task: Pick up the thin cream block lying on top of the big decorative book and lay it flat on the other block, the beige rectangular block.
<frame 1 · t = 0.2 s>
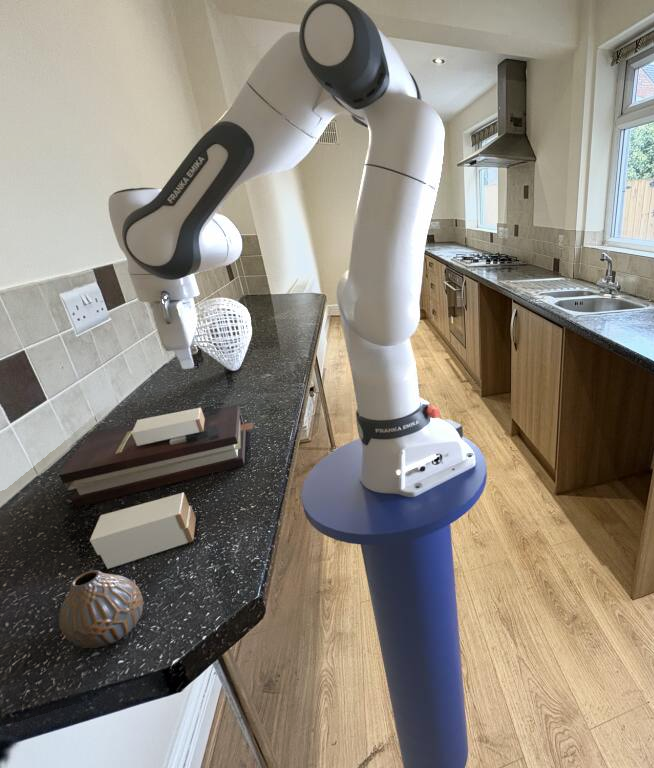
hand: (190, 360, 79), 21 cm above the countertop, tool pointing down, fingers open, 8 cm apart
vase: (115, 631, 50), on the countertop
beige rectangular block: (154, 542, 63), on the countertop
decorative book: (173, 463, 84), on the countertop
cream block: (172, 432, 80), point 8 cm above the countertop
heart: (235, 370, 133), on the countertop
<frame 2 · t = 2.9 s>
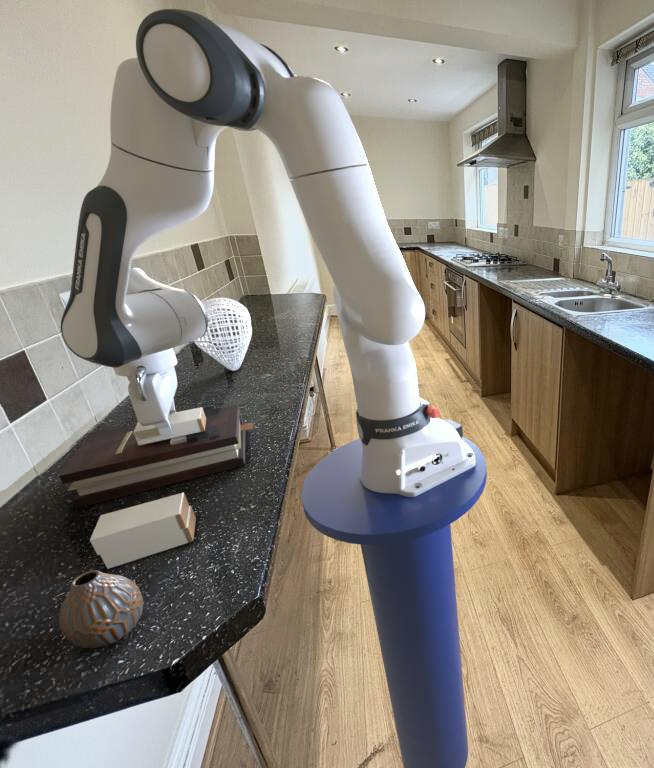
hand: (169, 426, 80), 9 cm above the countertop, tool pointing down, fingers closed on cream block, 6 cm apart
decorative book: (173, 464, 84), on the countertop, touching cream block
cream block: (174, 431, 80), point 8 cm above the countertop, touching decorative book, gripper
everything else where it was.
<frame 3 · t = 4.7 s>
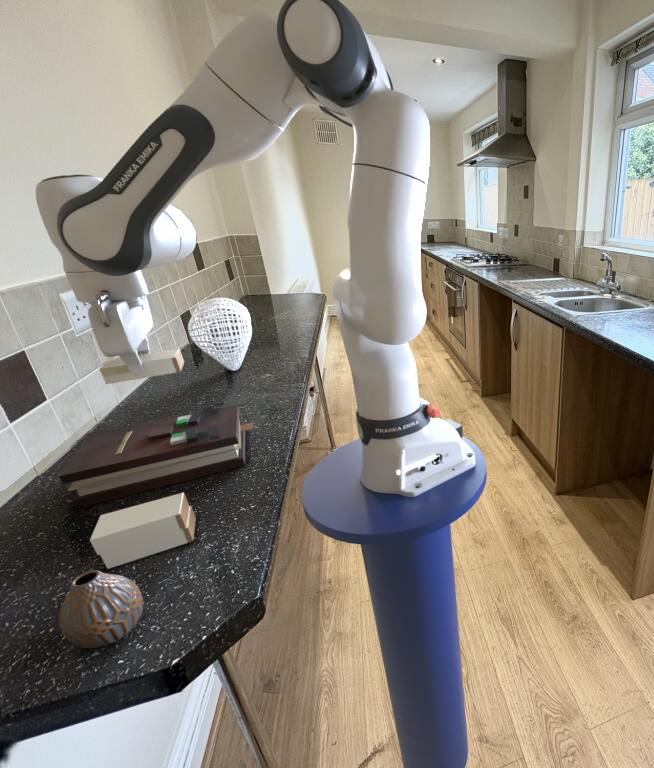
hand: (142, 366, 72), 22 cm above the countertop, tool pointing down, fingers closed on cream block, 6 cm apart
decorative book: (173, 464, 84), on the countertop
cream block: (147, 372, 73), point 21 cm above the countertop, touching gripper
everything else where it was.
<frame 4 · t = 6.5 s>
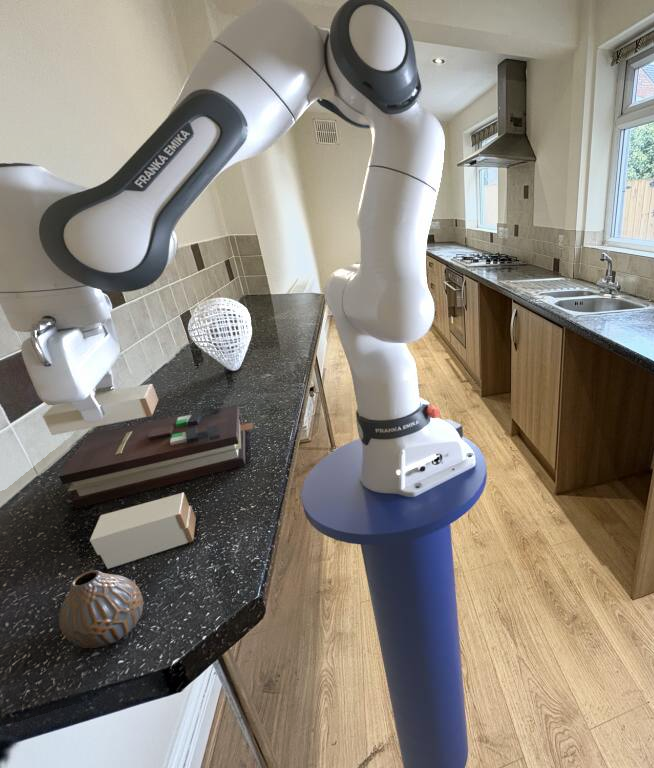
hand: (102, 408, 56), 22 cm above the countertop, tool pointing down, fingers closed on cream block, 6 cm apart
cream block: (109, 416, 57), point 21 cm above the countertop, touching gripper
everything else where it was.
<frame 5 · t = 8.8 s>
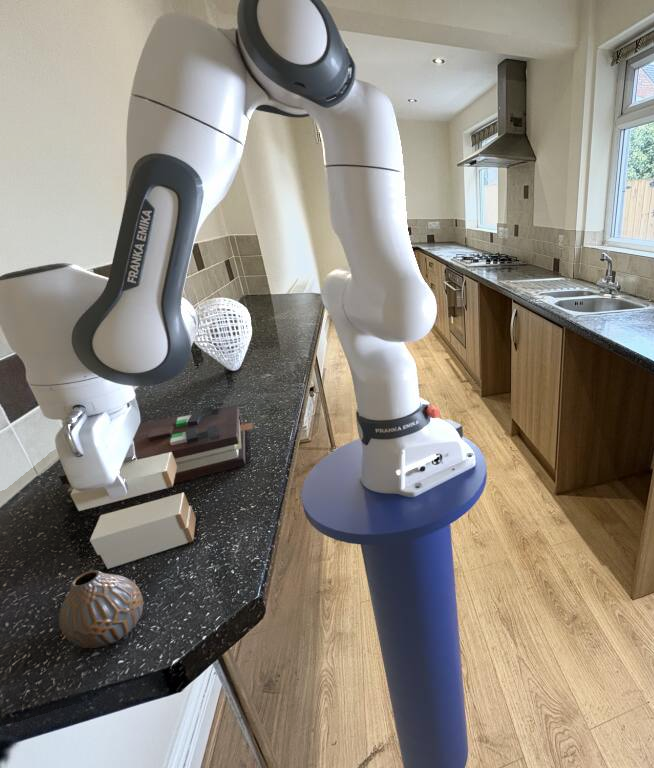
hand: (125, 480, 59), 12 cm above the countertop, tool pointing down, fingers closed on cream block, 6 cm apart
cream block: (131, 487, 59), point 10 cm above the countertop, touching gripper
everything else where it was.
when the fingers open (7 cm above the countertop, at t = 10.5 s): cream block stays where it is, resting on beige rectangular block.
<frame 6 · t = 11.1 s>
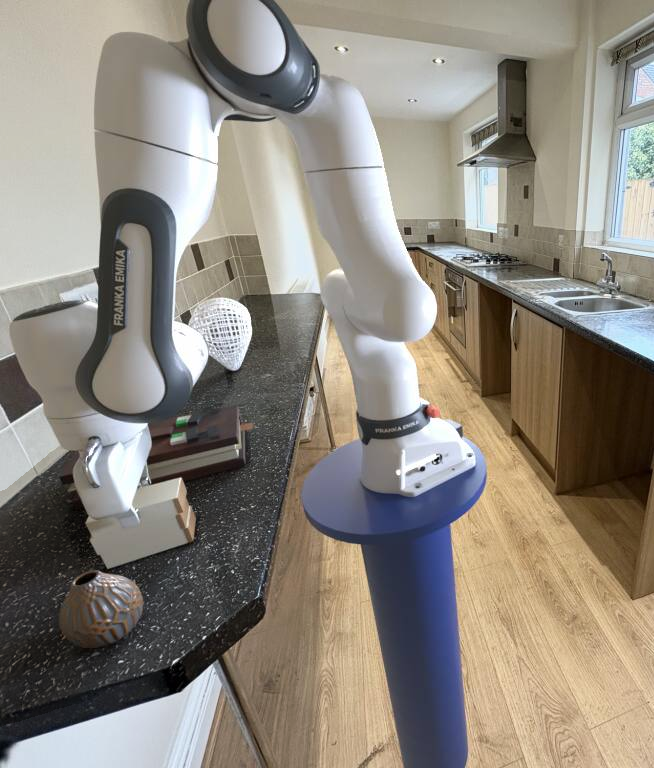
hand: (138, 505, 61), 7 cm above the countertop, tool pointing down, fingers open, 8 cm apart
cream block: (143, 513, 61), point 6 cm above the countertop, touching beige rectangular block
everything else where it was.
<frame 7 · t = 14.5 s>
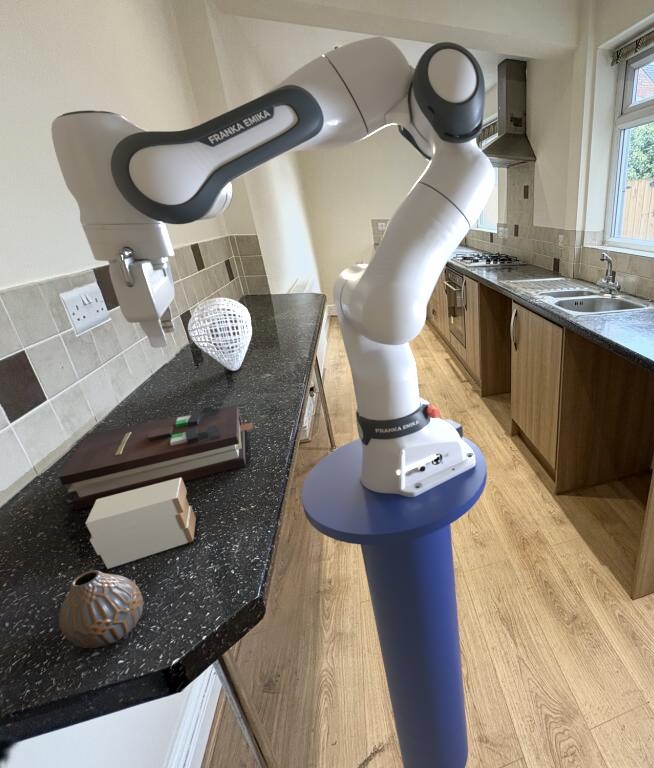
hand: (164, 338, 64), 29 cm above the countertop, tool pointing down, fingers open, 8 cm apart
nothing on the countertop moved.
at the end: cream block 0.2 cm off-centre on the beige rectangular block, point 5.6 cm above the beige rectangular block's base; cream block tilted 0°; the gripper is holding nothing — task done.
